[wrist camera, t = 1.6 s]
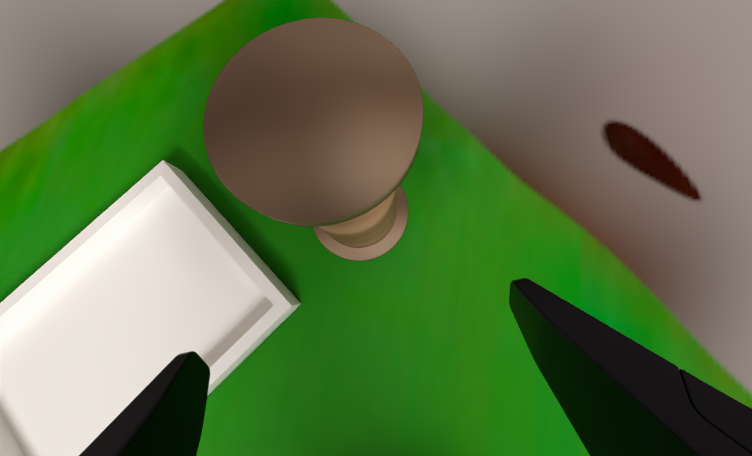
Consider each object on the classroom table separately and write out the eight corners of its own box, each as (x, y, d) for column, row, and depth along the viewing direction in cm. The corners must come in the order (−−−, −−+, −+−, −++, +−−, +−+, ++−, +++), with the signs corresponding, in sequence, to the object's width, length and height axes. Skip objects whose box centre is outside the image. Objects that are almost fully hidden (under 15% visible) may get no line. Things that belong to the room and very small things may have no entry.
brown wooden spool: (422, 239, 21) (460, 168, 9) (331, 275, 21) (237, 257, 9) (386, 155, 23) (374, -12, 10) (301, 189, 23) (181, 63, 10)
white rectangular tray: (182, 170, 24) (162, 160, 22) (301, 303, 21) (291, 305, 19) (-33, 361, 22) (-75, 368, 20) (69, 532, 19) (32, 559, 17)
